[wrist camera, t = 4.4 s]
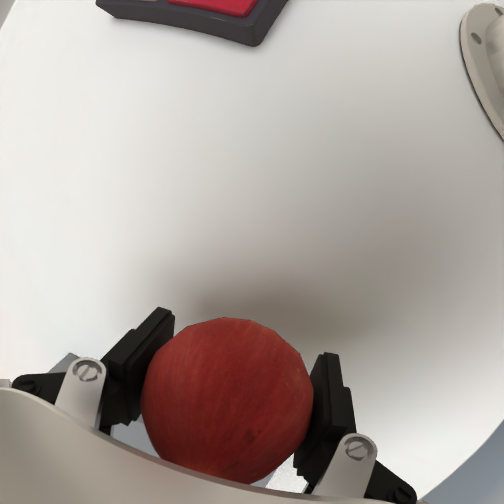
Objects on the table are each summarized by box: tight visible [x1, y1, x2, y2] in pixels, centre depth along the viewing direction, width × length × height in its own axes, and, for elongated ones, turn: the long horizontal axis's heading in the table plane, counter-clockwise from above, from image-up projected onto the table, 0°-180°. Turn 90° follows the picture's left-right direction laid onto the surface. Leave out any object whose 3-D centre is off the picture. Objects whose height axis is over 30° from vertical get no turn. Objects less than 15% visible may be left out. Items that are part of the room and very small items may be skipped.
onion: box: [140, 317, 314, 485], centre depth 9 cm, size 6×6×8 cm
